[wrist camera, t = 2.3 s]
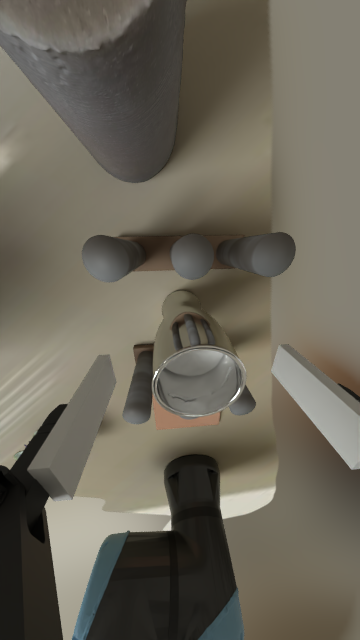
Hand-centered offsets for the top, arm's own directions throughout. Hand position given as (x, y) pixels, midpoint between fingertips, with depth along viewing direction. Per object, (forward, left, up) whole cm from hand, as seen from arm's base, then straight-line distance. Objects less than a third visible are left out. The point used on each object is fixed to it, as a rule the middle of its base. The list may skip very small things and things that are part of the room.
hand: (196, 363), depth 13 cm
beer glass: (0, 0, -13) cm, 13 cm away
